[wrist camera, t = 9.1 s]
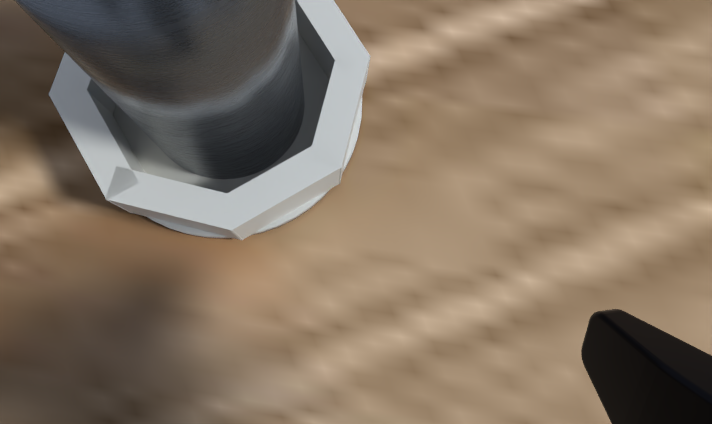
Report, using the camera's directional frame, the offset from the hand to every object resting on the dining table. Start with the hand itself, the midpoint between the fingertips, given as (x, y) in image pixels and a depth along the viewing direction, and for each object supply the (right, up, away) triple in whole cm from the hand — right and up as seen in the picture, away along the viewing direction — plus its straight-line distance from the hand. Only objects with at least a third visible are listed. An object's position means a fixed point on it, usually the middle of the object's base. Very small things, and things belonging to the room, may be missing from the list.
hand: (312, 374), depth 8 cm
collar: (-4, +6, +11) cm, 13 cm away
